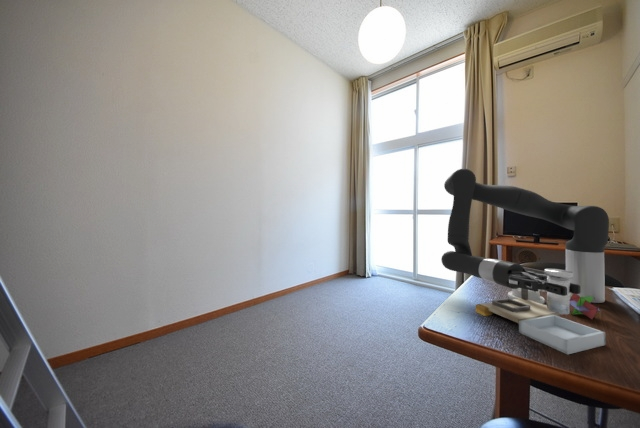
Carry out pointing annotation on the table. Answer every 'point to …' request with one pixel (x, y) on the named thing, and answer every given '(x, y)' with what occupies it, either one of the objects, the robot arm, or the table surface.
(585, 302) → the geometric puzzle
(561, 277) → the pin
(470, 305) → the table surface
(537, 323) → the tray
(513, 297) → the mechanical component
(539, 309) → the dolly
